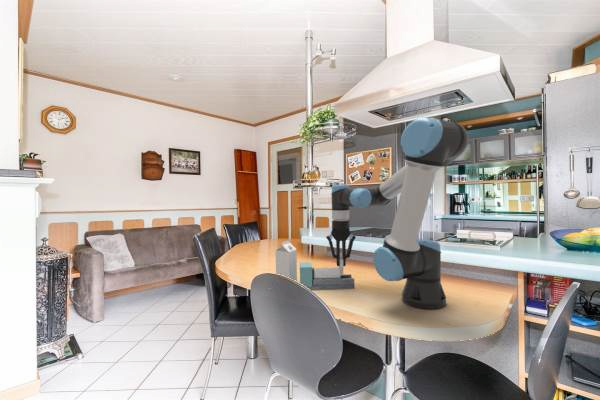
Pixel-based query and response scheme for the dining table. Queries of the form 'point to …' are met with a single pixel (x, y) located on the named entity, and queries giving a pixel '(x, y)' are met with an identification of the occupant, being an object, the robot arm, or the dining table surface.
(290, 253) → the milk carton
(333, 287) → the guide channel
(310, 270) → the socket housing
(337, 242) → the robot arm
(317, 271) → the sliding block
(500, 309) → the dining table surface
